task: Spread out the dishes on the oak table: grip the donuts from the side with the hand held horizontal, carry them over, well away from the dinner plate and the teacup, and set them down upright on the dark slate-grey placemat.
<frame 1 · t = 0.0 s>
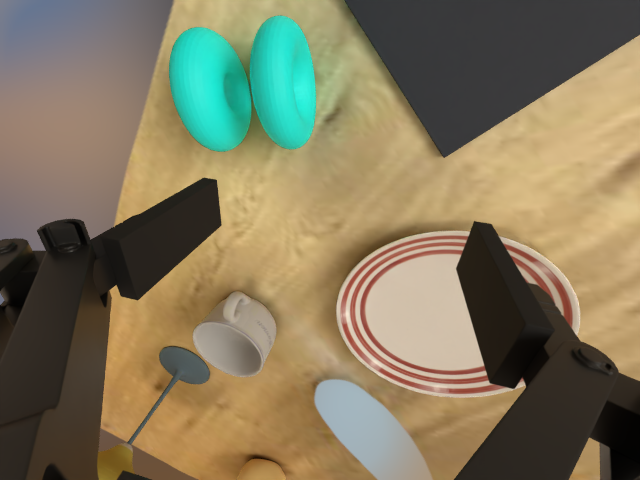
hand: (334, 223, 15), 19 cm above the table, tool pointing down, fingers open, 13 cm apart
donuts: (271, 88, 31), on the table
dinner plate: (441, 310, 40), on the table
cocktail glass: (185, 364, 60), on the table
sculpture: (268, 464, 74), on the table
teacup: (252, 305, 47), on the table
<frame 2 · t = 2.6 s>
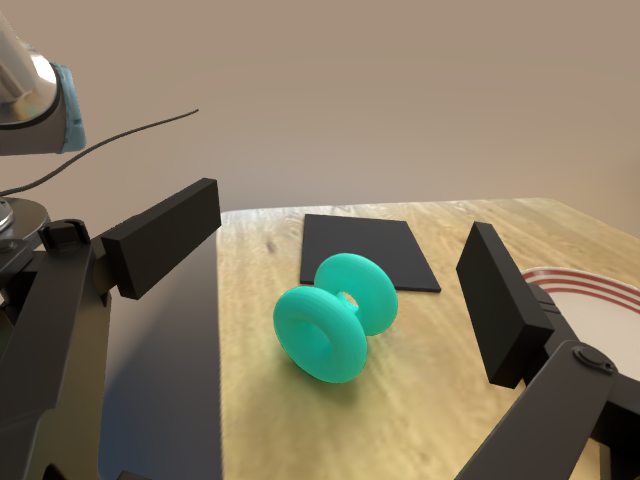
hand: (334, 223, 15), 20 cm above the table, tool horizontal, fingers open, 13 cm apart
donuts: (331, 346, 33), on the table
dinner plate: (618, 361, 35), on the table
placemat: (362, 248, 50), on the table
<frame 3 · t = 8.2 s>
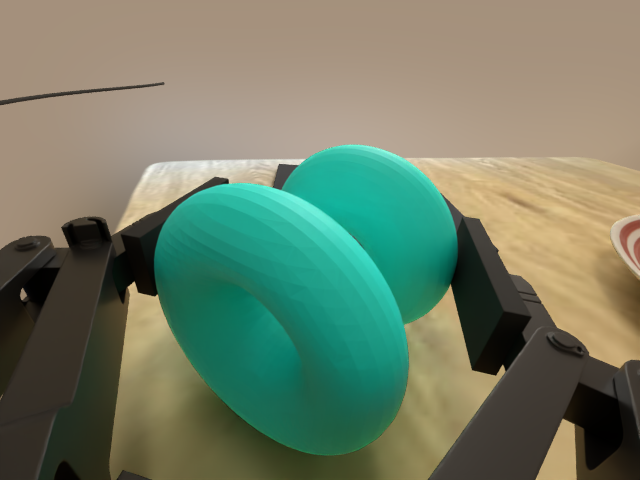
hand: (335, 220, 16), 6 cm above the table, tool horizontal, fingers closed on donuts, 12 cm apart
donuts: (311, 353, 16), on the table, touching gripper
placemat: (362, 201, 33), on the table
when the fingers open (7 cm above the table, at t = 17.3 s): donuts stays where it is, resting on placemat.
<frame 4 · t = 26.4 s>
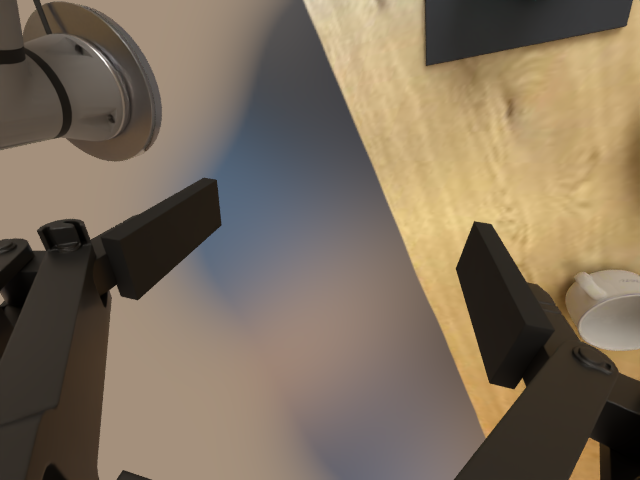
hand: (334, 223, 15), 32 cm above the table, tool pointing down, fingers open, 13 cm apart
teacup: (591, 281, 47), on the table
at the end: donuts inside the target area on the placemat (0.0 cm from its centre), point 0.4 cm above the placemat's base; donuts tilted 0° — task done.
